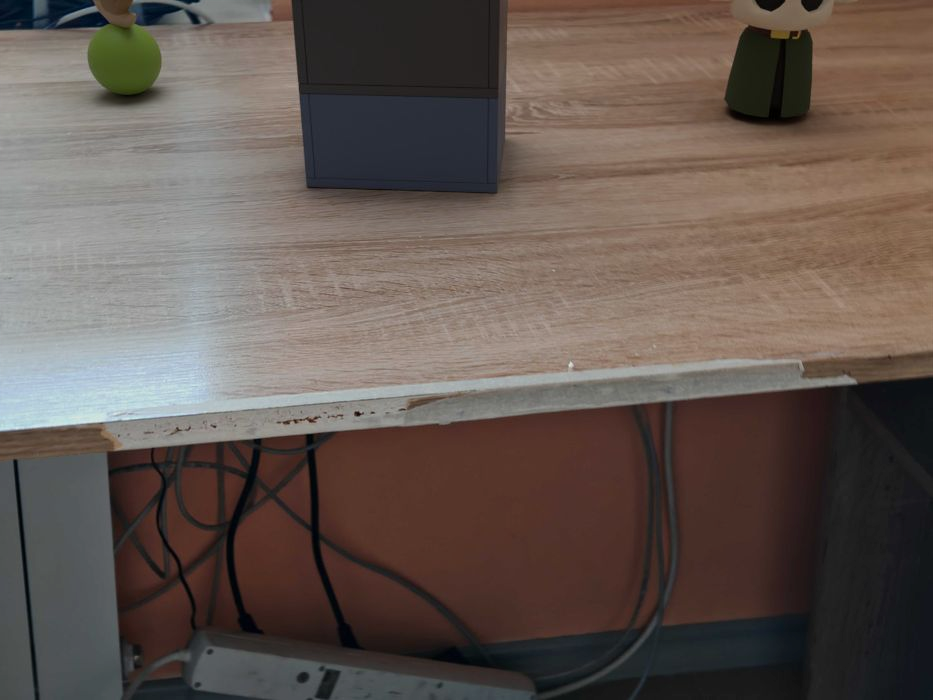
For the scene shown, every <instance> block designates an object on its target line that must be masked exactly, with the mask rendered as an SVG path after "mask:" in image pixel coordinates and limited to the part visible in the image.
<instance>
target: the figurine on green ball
mask: <svg viewBox="0 0 933 700" xmlns="http://www.w3.org/2000/svg"><path fill="white" fill-rule="evenodd" d="M92 1H93V3H94V5H95V7H96V9H97V10H98V12H99V13H100V14H101V15H102V16H103V17H104V18H105V19H106V20H107V22H108V24H105V25H103V26H102V27H100V28H99V29H98V30H97V31H95V33H94V35H92V38H91V39H90V41H89V44H88V46H87V47H88V48H87V53H86V55H87V63H88V67H89V69H90V73H91V74H92V76H93V77H94V79H95V80H96V81H97V83H98V84H99V85H101V86H102V87H103V88H104V89H106V90H108V91H109V92H111V93H114V94H118V95H123V96H131V95H132V96H133V95H137V94H140V93H141V94H142V92H145V91H147V90H148V89H150V88H151V87H152V86H153V85H154V84H155V82H156V81H157V79H158V78H159V76H160V73H161V70H162V63H163V62H162V61H163V59H162V58H163V57H162V53H161V49H160V47H159V44H158V42H157V40H156V39H155V37H154V36H153V34H151V32H149V31H148V30H147V29H145V28H144V27H142V26H140V25H138V24H136V20H137V14H136V13H135V12H133V11H132V12H130V9H131V8H132V5H133V2H134V0H92Z"/></svg>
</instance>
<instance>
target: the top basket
mask: <svg viewBox="0 0 933 700" xmlns="http://www.w3.org/2000/svg"><path fill="white" fill-rule="evenodd" d="M290 1H291V12H292V25H293V27H292V28H293V37H294V49H295V62H296V73H297V74H296V75H297V85H298V87H297V88H298V93H307V94H346V95H386V96H426V97H465V98H498V97H499V92H500V86H501V81H502V75H503V70H504V64H505V58H506V53H507V52H508V12H509V11H508V9H509V8H508V7H509V6H508V5H509V4H508V3H509V0H290ZM507 54H508V53H507Z"/></svg>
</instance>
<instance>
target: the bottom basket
mask: <svg viewBox="0 0 933 700" xmlns="http://www.w3.org/2000/svg"><path fill="white" fill-rule="evenodd" d="M507 58H508V53H506V58H505V64H504V70H503V75H502V81H501V86H500V92H499V97H498V98H465V97H426V96H386V95H346V94H307V93H299V92H298V93H299V94H298V96H299V97H298V98H299V110H300V122H301V134H302V145H303V157H304V158H303V159H304V171H305V181H306V182H305V185H306V187H307V188H329V189H330V188H331V189H333V188H334V189H363V190H365V189H366V190H367V189H368V190H396V191H423V192H426V191H428V192H457V193H460V192H461V193H491V194H493V193H495V194H496V193H498V189H499V182H500V175H501V168H502V161H503V154H504V147H505V140H506V120H507V119H506V117H507V115H506V112H507V66H508V65H507V64H508V63H507V61H508V60H507Z"/></svg>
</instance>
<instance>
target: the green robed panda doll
mask: <svg viewBox="0 0 933 700" xmlns="http://www.w3.org/2000/svg"><path fill="white" fill-rule="evenodd" d="M709 1H710V2H720V3H721V2H727V3H729V9H730V12H731V17H732V18H734V19H735V20H736V21H739V22H740V23H742V24H744V25H747V26H746V27H745V28H744V29H743V30H742V32H741V34H740V35H739V37H738V38H739V39H738V42H737V45H736V50H735V53H734V57H733V60H732V65H731V68H730V73H729V75H728V79H727V84H726V89H725V92H724V93H725V94H724V97H723V100H724V101H725V103H726V104H727V106H728V107H729V108H730V109H731V110H733V111H736V112H738V113H740V114H743V115H746V116H747V115H748V116H753V117H759V118H769V114H770V109H771V108H780V110H781V111H780V118H785V119H786V118H792V117H798V116H802V115H803V114H805V113H807V112H809V111H810V110H811V101H812V86H813V56H814V55H813V53H814V51H813V49H814V42H813V37H812V35H811V32H810V31H809V30H810V29H814V28H816V27H820V26H822V25H824V24H826V23H827V22H828V20H829V18H830V17H831V15H832V14H833V10H834V5H835V4H853V3H857V2H859V0H709Z"/></svg>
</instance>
